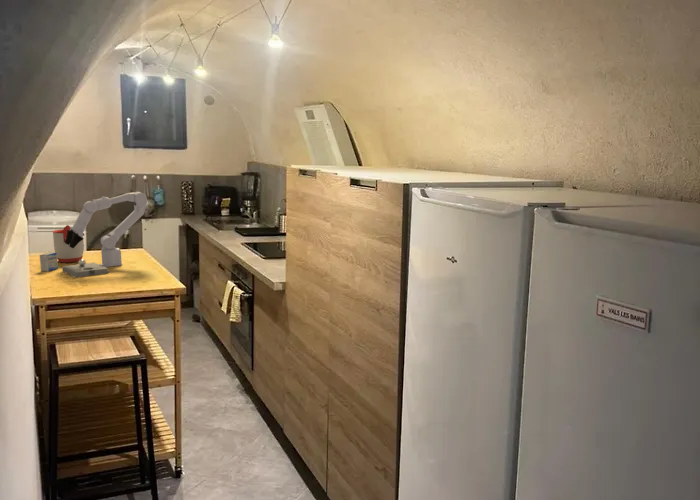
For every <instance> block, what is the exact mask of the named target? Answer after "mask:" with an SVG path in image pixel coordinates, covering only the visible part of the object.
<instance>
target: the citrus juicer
mask: <svg viewBox="0 0 700 500" xmlns="http://www.w3.org/2000/svg"><path fill="white" fill-rule="evenodd" d="M70 227H71V226H70V225H68V224H66V225H65V227H64V228H62V229H55V230H52V235H53V236H52V237H53V247H54V252H56V253H57V262H60V263H63V264H67V263H78V262H79V260H81V259H83V255H84V249H85V247H84V245H85V244H84V239H83V240H81V241H80V242H79V243H78V244H77V245H76V246H75V247H74V248H71V247H69V246H70V244H69V245H68V244H65V241H66V237H67V230H70V229H71V228H70ZM75 232H76V231H75ZM82 238H84V235H83V236H82Z"/></svg>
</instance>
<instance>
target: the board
mask: <svg viewBox="0 0 700 500" xmlns="http://www.w3.org/2000/svg"><path fill="white" fill-rule="evenodd" d="M99 264H100V263H96V262H87V263H86V264H85V265H84V266H80V265H79V264H71V265H63V266H62V269H61V270H62V272H63V273H66V274H68V275H70V276H72V277H74V278H83V277H89V276H96V275H97V276H99V275H103V274H109V268H108V267H104V266H101V265H99Z"/></svg>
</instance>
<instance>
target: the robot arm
mask: <svg viewBox="0 0 700 500" xmlns="http://www.w3.org/2000/svg"><path fill="white" fill-rule="evenodd" d="M127 201H128V202H130V203H131V202H132V203H133V211H132V212H131V213H130V214H129V215H127V216H126V218H125V219H124V220H123V221H121V222H120V223H119V224H118V225H117V226H116V227H115V228H114V229H113V230H112V231H110V232H109V233H107V234H106V235H103V236H101V238H100V244H101V245H102V247H101V248H100V250H101V251H100V253H101V263H98V264H99V265H101V266H104V267H106V268H108V267H114V266H115V267H116V266H122V265H123V264H122V253H121V248H119V247H116V244H117V243H118V241H120V238H121V237H122V236H123V235H124V234H125V233H126V232H127V231H128V230H129V229H130V228H132V226H133V225H134V224H136V222H137V221H138V220H139V219H140V218H141V217H143V216H144V214H145V212H146V208H147V205H148V198H147V195H146V194H145V192H144V193H143V192H141V191H135V192H126V193H124V194H121V195H120V194H119V195H118V196H114V197H111V198H109V197H108V196H101V198H97V199H95V198H94V199H93V198H92V201H91V200H88V201H86V202H84V203H83V206H82V207H83V208H82V209H81V211H80V213H79V214H78V216H77V218H76V220H75V222H74V224H73V225H72V226H70V228H71V229H70V230H67V237H66V241H65V244H68V245H69V244H70V246H69V247H71V248H74V247H75V246H76V245H77V244H78V243H79V242H80V241H81V240H83V241H84V239H85V238H84V232H85V229H86V228H87V226H88V224H89V223H90V221H91V219H92V216H93V214H95V213H96V212H97V211H101V210H107V209H108V208H111V207H112V205H114V204H115V205H116V204H120V203H124V202H127ZM75 231H76V232H75ZM82 236H83V238H82Z"/></svg>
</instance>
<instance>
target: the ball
mask: <svg viewBox="0 0 700 500" xmlns="http://www.w3.org/2000/svg"><path fill="white" fill-rule="evenodd" d="M77 263H78V264H79V265H80V266H84V265H85V264H86V260H85V259H83V258H82V259H81V260H79V261H78V262H77ZM78 264H77V265H78Z"/></svg>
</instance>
